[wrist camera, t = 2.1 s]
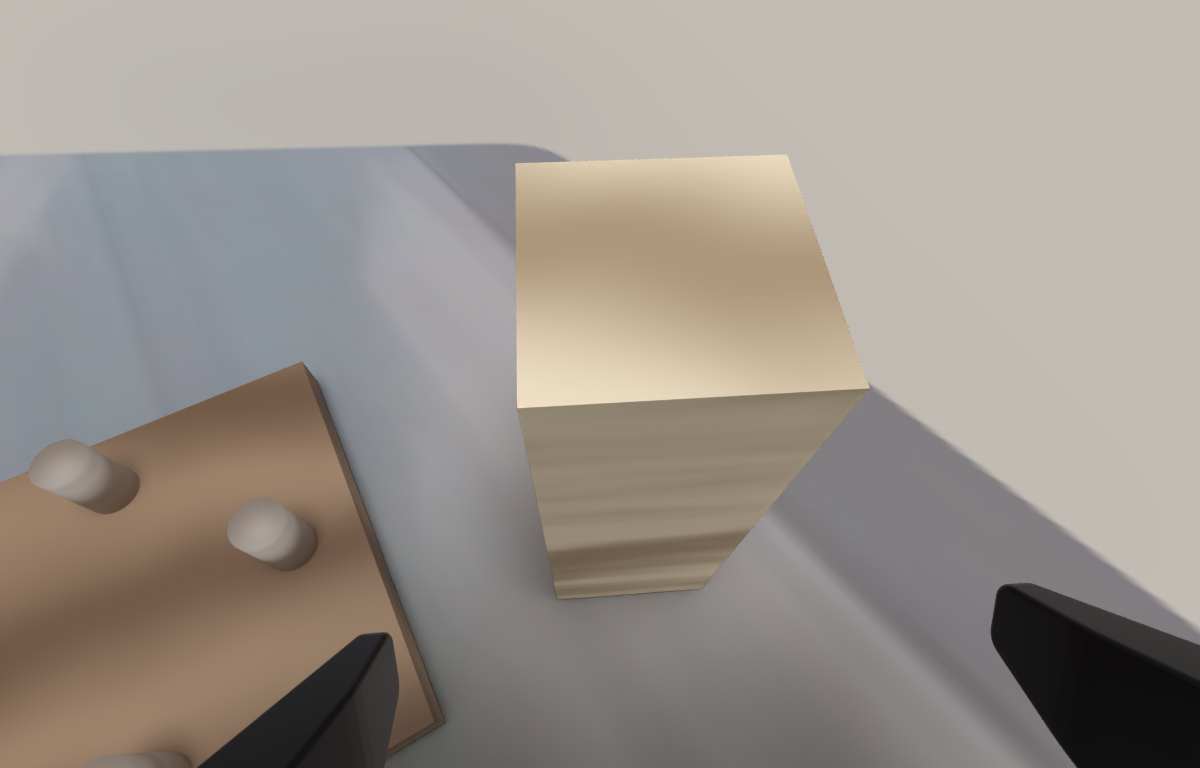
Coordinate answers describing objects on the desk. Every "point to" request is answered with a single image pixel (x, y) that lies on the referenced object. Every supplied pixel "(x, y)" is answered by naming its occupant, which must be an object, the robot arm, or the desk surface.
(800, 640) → the desk surface
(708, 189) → the birch block
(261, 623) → the board
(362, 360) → the desk surface
